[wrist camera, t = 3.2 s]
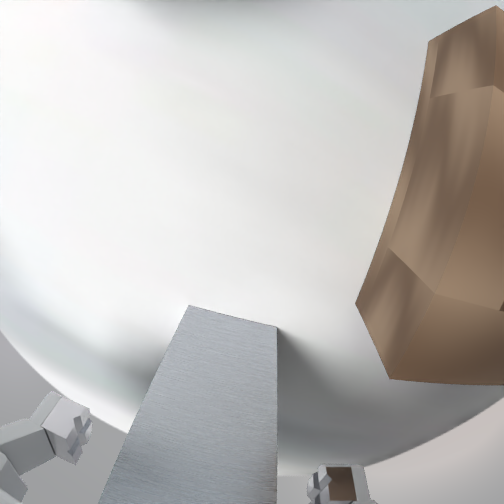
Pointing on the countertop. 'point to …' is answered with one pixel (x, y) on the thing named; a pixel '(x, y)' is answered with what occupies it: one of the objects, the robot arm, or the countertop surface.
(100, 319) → the countertop surface
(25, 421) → the robot arm
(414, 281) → the walnut socket block
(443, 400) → the countertop surface
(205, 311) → the metal peg
